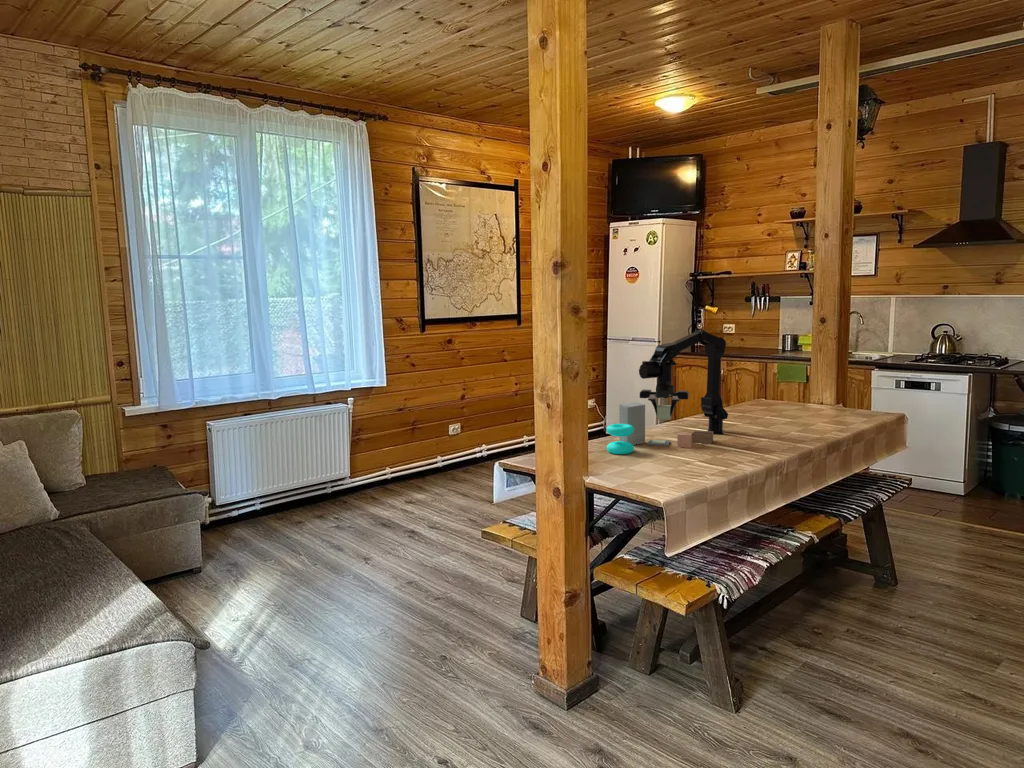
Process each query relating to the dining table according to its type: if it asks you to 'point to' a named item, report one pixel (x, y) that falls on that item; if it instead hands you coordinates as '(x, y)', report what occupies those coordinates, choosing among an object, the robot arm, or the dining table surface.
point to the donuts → (620, 446)
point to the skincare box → (633, 421)
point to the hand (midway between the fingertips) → (664, 415)
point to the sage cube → (663, 412)
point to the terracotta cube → (684, 439)
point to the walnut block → (702, 437)
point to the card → (658, 442)
